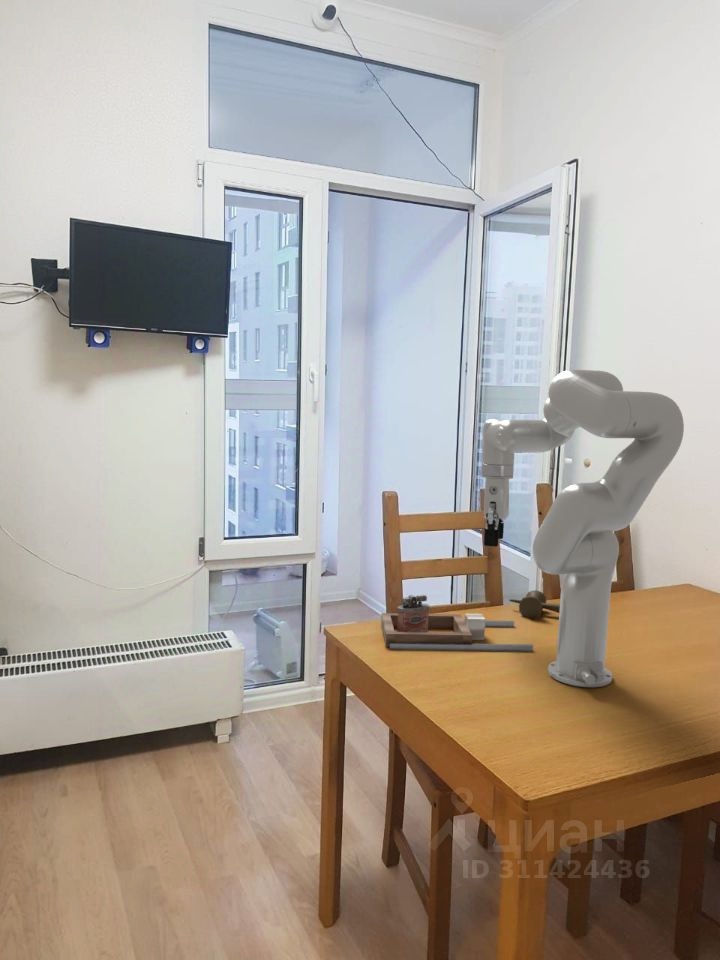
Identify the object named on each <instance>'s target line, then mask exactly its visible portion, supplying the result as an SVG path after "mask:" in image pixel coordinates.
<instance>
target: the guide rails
mask: <svg viewBox="0 0 720 960" xmlns="http://www.w3.org/2000/svg"><path fill="white" fill-rule="evenodd" d="M463 620H464V622H465V619H463ZM486 627H489V628H492V627H493V628H495V627H497V628H503V627H504V628H515V621H514V620H488V619H487V620H486V619H485V628H486ZM388 648H389V650H409V651H410V650H418V651H420V650H422V651H423V650H424V651H425V650H426V651H428V650H429V651H480V652H481V651H482V652H483V651H485V652H486V651H489V652H490V651H491V652H493V651H496V652H497V651H498V652H533V651H534V645H533V644H525V643H524V644H523V643H522V644H520V643H519V644H517V643H511V644H510V643H502V644H501V643H472V644H465V643H400V642H390V646H389V647H388Z"/></svg>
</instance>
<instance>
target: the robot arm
mask: <svg viewBox="0 0 720 960" xmlns="http://www.w3.org/2000/svg"><path fill="white" fill-rule="evenodd" d="M547 395H548V398H546V400H545V402H544V403H543V408H542V409H543V415H544V416H543V417H544V418H543V419H504V418H503V419H499V418H496V419H495V418H490V419H486V420H485V421H484V423H483V425H482V426H483V429H482V430H483V431H482V446H481V447H482V448H481V449H482V450H481V452H482V453H481V471H480V472H481V473H480V478H484V479H485V481H484V482H485V483H484V499H483V500H484V502H483V517H484V519H485V525H484V527H485V528H484V536H483V538H484V539H483V545H484V546H486V547H493V548H494V547H498V546H499V540H503V538H504V527H505V523H504V521H505V520H506V519H507V518H508V516H509V513H510V512H509V510H510V509H509V507H510V506H509V505H510V479H511V480H512V479H514V469H515V468H514V467H515V466H514V465H515V461H514V460H515V454H522V453H523V454H524V453H529V454H530V453H533V454H534V453H536V454H537V453H538V454H539V453H545V452H549V451H552V450H554V449H556V448H559V447H561V446H562V445H564V444H566V443H568V442H569V441H570V440H571V439H572V436H573V435H574V433H575V430H576V429H578V428H581V429H584V430H585V431H586V432H588V433H590V434H592V435H593V436H596V437H599V438H603V439H605V438H606V439H634V440H633V441H632V442H631V443H630V444H629V445H628V446H626V447H625V448H623V449H622V450H621V451H620V452H619V454H617V456H615V458H614V459H613V460H612V462H611V463H610V466H609V467H608V469H607V471H606V473H604V475H603V477H602V478H600V480H597V481H595V482H594V481H593V482H581V483H574V484H571V485H568V486H566V487H565V488H563V489H562V490H561V491H560V492H559V493H558V494H557V495H556V497H555V499H554V501H553V502H552V504H551V506H550V508H549V510H548V511H547V514H546V515H545V517H544V519H543V520H542V523H541V525H540V527H539V529H538V530H537V532H536V535H535V537H534V540H533V543H532V559H533V561H534V563H535V565H536V566H537V568H538V569H539V570H541V572H543V573H546V574H548V575H556V576H557V575H565V577H564V579H563V582H562V585H561V590H560V597H559V598H560V599H559V600H560V601H559V604H560V612H559V613H558V615H559V617H558V627H557V628H558V629H557V631H558V632H557V647H556V660H554V661H552V662H550V663H548V666H547V672H548V674H549V676H550V677H551V678H553V679H554V680H556V681H559V682H560V683H563V684H566V685H570V686H573V687H581V688H601V687H606V686H608V685H609V684H611V682H612V681H613V673H612V672H611V670H609V669H608V668H607V667H606V654H607V639H608V630H609V629H608V628H609V615H610V614H609V613H610V602H611V589H612V582H613V578H614V577H613V576H614V573H615V569H616V566H617V562H618V558H619V553H620V552H619V551H620V544H619V540H618V537H617V536H616V533H615V532H618V531H620V530H623V529H625V528H628V526H630V524H631V523H632V521H634V519H635V517H636V516H637V514H638V512H639V510H640V509H641V507H642V506H643V505H644V502H645V501H646V500H647V498H648V497H649V495H650V494H651V492H652V490H653V488H654V486H655V485H656V484H657V482H658V480H659V478H660V477H661V476H662V475H663V473H664V472H665V470H667V468H668V467H669V466H670V464H671V463H672V461H673V460H674V458H675V457H676V455H677V453H678V451H679V449H680V448H681V445H682V442H683V438H684V430H685V429H684V427H685V426H684V425H685V424H684V418H683V414H682V411H681V409H680V407H679V405H678V404H677V403H676V401H675V400H673V399H672V398H671V397H669V396H667V395H664V394H661V393H658V392H651V391H625V390H624V386H623V384H622V382H621V381H620V379H619V378H618V377H617V376H616V375H614V374H613V373H610V372H608V371H604V370H595V369H594V370H593V369H591V370H590V369H566V370H564V371H562V372H560V373H558V374H557V375H556V376H555V377H554V378H553V379H552V381H551V382H550V385H549V387H548V393H547Z"/></svg>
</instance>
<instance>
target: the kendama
mask: <svg viewBox="0 0 720 960" xmlns="http://www.w3.org/2000/svg"><path fill="white" fill-rule="evenodd" d="M525 595H526V596H525V597H522V598H521V599H514V598H513V599H511V598H510V599H509V600H508V601H510V602H511V603H514V604H519V605H518V608H519V609H518V611H519V613H520V615H521V616H522V617H524V618H528V619H529V618H531V620H536V619H538V618H540V616H541V615H542V612H543V609H544V610H548V611H551V612H554V613H558V614H559V612H560V603H547V598H546V595H545V594H544V593H543V592H542V591H540V590H529V591H528V593H527V594H525Z"/></svg>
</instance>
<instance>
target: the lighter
mask: <svg viewBox="0 0 720 960" xmlns="http://www.w3.org/2000/svg"><path fill="white" fill-rule="evenodd" d="M427 600H428V596H427V595H426V594H420V595H416V596H415V595H413V594H409V595H408V596H406V597H402V600H401V601H402V605H398V606H397V607H396V610H397V614H398V626H397V627H396V628H397V629H396V630H397V631H396V632H429V631H428V630H429V628H428V614H429V610H430V604H428V603H423V602H427Z"/></svg>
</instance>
